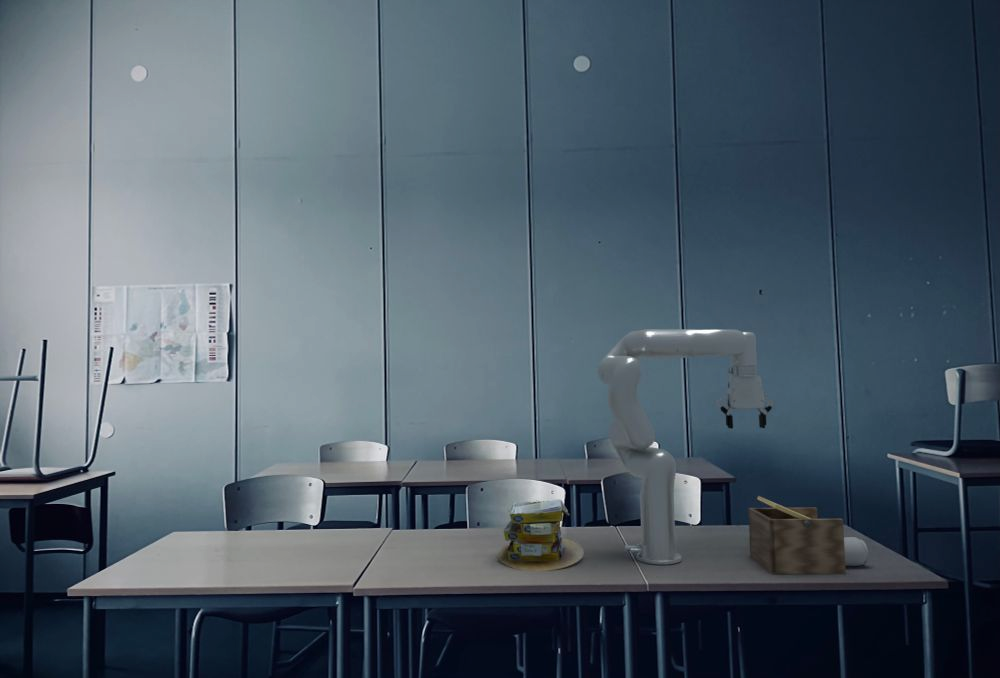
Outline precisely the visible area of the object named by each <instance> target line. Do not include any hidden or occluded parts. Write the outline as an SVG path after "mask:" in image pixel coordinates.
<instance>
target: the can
mask: <svg viewBox="0 0 1000 678" xmlns="http://www.w3.org/2000/svg"><path fill="white" fill-rule="evenodd" d="M844 548H845V567H860V566H862V565H863V564H866V563H867V562H868V561H869V556H870V555H869V549H868V546H867V544H866V542H865V541H864V540H863V539H861V538H860V539H859V538H858V537H855V536H850V537H849V536H846V537H845V536H844Z"/></svg>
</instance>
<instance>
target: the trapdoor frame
mask: <svg viewBox="0 0 1000 678" xmlns="http://www.w3.org/2000/svg"><path fill="white" fill-rule="evenodd" d="M787 508H788V509H790V510H792V511H795V512H797V513H799V514H802V515H804V516H806V517H809V518H811V519H799V518H797V517H794V516H792V515H790V514H787V513H785V512H783V511H780V510H778V509H776V508H774V507H749V508H748V527H749V528H748V532H749V555H750V556H749V557H750V558H751V559H752V560H753V561H754V562H756V563H757V564H758V565H759V566H761V567H762V568H763V569H765V570H766V571H767V572H769V573H770V574H772V575H843V574H844V575H845V574H846V573H847V572H846V571H847V570H846V568H847V567H846V566H845V548H844V537H845V536H844V535H845V534H844V533H845V531H844V519H842V518H818V508H817V507H815V506H814V507H810V506H809V507H803V506H802V507H787Z"/></svg>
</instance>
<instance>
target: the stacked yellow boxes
mask: <svg viewBox="0 0 1000 678" xmlns="http://www.w3.org/2000/svg"><path fill="white" fill-rule="evenodd" d="M508 512H509V516H510V521H509V522H508V523H507V524H506V525H505V528H504V529H503V534H504V539H505V541H508V542H509V543H507V544H504V546H502V547H501V548H500V549H499V551H498V553H497V557H498V558H497V559H498V561H500V563H502V564H504V565H505V566H507V567H510V568H513V569H515V570H516V569H517V570H523V571H537V572H539V571H540V572H545V571H554V570H559V569H563V568H567V567H569V566H572V565H574V564H575V563H577V562H579V561H581V560H582V558H583V557H584V554H585V553H584V552H585V551H584V548H583V547H582V546H581V545H580V544H579V543H577V542H575V541H573V540H571V539H567V538H564V537H561V536H562V532H561V522H563V518H564V516H563V514H564V515H565V516H570V514H569V511H568V509H567V507H566V506H565V504H564V502H563V500H561V499H559V498H558V499H553V500H545V501H544V500H542V501H539V500H537V501H523V502H521V501H515V502H513V504H512V507H510V510H508Z"/></svg>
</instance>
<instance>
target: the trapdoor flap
mask: <svg viewBox="0 0 1000 678" xmlns="http://www.w3.org/2000/svg"><path fill="white" fill-rule="evenodd" d="M756 500H758V501H760V502H762V503H764V504H766V505H768V506H770V507H771V508H776V509H778V510H780V511H783V512H785V513H787V514H790V515H792V516H794V517H797V518H799V519H811V518H809V517H806V516H804V515H802V514H799V513H797V512H795V511H792V510H790V509H788V508H789V507H785V506H783V505H781V504H778V503H776V502H773V501H771V500H769V499H766V498H764V497H762V496H760V495H758V496H757V498H756Z"/></svg>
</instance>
